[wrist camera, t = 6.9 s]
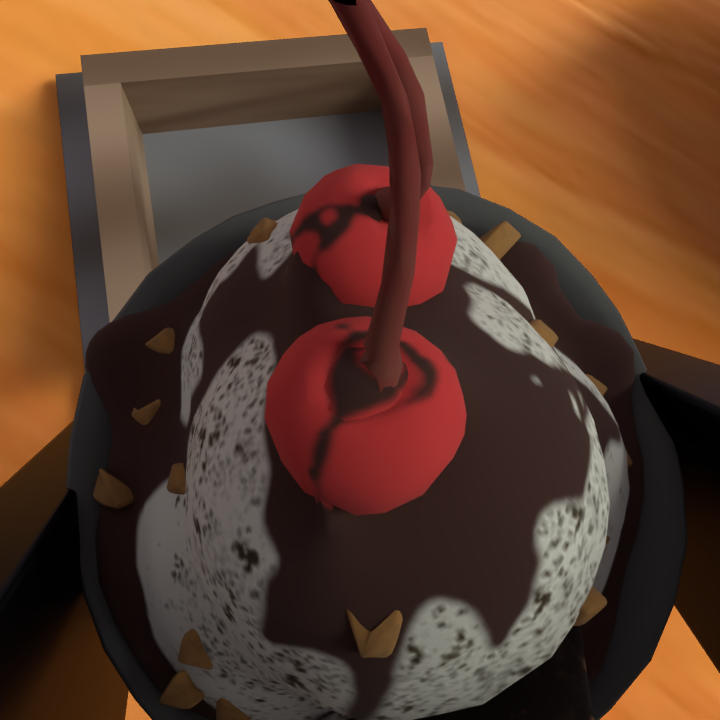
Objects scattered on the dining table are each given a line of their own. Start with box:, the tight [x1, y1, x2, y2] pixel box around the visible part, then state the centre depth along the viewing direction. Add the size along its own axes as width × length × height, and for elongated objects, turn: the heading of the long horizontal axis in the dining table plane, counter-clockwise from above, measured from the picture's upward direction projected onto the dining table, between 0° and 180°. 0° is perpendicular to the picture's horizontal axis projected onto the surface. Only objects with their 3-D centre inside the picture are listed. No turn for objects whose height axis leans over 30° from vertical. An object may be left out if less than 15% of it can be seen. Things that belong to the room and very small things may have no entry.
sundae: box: [66, 0, 688, 720], centre depth 9 cm, size 7×7×15 cm
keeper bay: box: [56, 28, 480, 372], centre depth 22 cm, size 16×16×4 cm
